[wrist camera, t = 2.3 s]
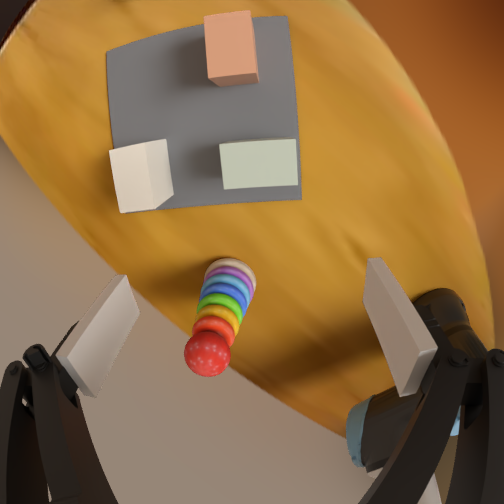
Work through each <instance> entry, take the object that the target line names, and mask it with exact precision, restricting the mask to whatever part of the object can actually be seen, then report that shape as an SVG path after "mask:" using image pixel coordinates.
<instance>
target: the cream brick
mask: <svg viewBox="0 0 504 504" xmlns="http://www.w3.org/2000/svg"><path fill="white" fill-rule="evenodd" d="M109 154H110V161H111V167H112V173H113V179H114V185H115V190H116V195H117V200H118V205H119V210H120V213H125V212H133V211H142V210H151V209H156V208H157V207H158V206H160V205H161V204H162V203H163V202H165V201H166V200H167V199H169V198H170V197H171V196H173V195H174V192H173V185H172V178H171V172H170V164H169V157H168V149H167V141H166V139H161V140H155V141H150V142H144V143H139V144H135V145H130V146H126V147H121V148H117V149H113V150H109Z"/></svg>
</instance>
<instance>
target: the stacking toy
mask: <svg viewBox="0 0 504 504" xmlns="http://www.w3.org/2000/svg"><path fill="white" fill-rule="evenodd" d="M255 288H256V278H255V275H254V273H253V271H252V270H251V268H250V267H249V266H248V265H246V264H245V263H244V262H242V261H240V260H237V259H233V258H223V259H219V260H217V261H215V262H213V263H212V264H211V265H210V266H209V267H208V268H207V270H206V272H205V276H204V282H203V286H202V288H201V296H200V299H199V304H198V307H197V315H196V319H195V324H194V326H193V330H192V334H193V336H192V337H191V338H190V339H189V341H188V342H187V344H186V346H185V350H184V357H185V361H186V363H187V365H188V367H189V368H190V369H191V370H192V371H193V372H194V373H196V374H198V375H201V376H205V377H211V376H216V375H218V374H220V373H222V372H223V371H224V370H225V368H226V367H227V366H228V364H229V362H230V357H231V353H230V348H229V347H231V345H232V344H233V342H234V340H235V336H236V335H237V333H238V331H239V325H240V324H241V322H242V318H243V317H244V315H245V313H246V310H247V307H248V306H249V303H250V302H251V300H252V298H253V294H254V291H255Z"/></svg>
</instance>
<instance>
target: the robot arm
mask: <svg viewBox="0 0 504 504" xmlns="http://www.w3.org/2000/svg"><path fill="white" fill-rule="evenodd" d="M363 304H364V306H365V308H366V311H367V313H368V315H369V318H370V320H371V323H372V325H373V327H374V330H375V332H376V335H377V337H378V340H379V342H380V345H381V347H382V350H383V352H384V355H385V358H386V360H387V363H388V365H389V368H390V371H391V374H392V376H393V379H394V382H395V386H393V387H391V388H389V389H387V390H385V391H383V392H381V393H379V394H377V395H372V396H371V397H370V398H368V399H366V400H364V401H362V402H360V403H358V404H356V405H355V406H354V407H353V408H352V409H351V410H350V412H349V414H348V418H347V423H346V438H347V445H348V450H349V454H350V455H351V457H352V461H353V463H354V465H356V466H357V467H366V471H367V475H369V476H371V477H374V478H376V479H375V481H374V482H373V484H372V485H371V487H370V488H369V490H368V491H367V493H366V494H365V495H364V496H363V498H362V499H361V501H360V502H359V503H358V504H442V503H441V499H440V494H439V490H438V486H437V482H436V478H435V475H434V471H435V469H436V467H437V465H438V463H439V461H440V458H441V456H442V454H443V451H444V449H445V447H446V444H447V442H448V439H449V437H450V436H454V435H458V442H457V449H456V457H455V462H454V468H453V473H452V478H451V483H450V487H449V492H448V496H447V500H446V503H445V504H504V351H502V350H500V349H491V350H490V351H487V349H486V348H485V346H484V345H483V343H482V342H481V340H480V339H479V338H478V336H477V335H476V333H475V332H474V331H473V329H472V328H471V326H470V323H469V319H468V316H467V313H466V309H465V305H464V303H463V301H462V300H461V298H460V297H459V296H458V295H457V294H456V293H455V292H454V291H453V290H450V289H437V290H433V291H431V292H429V293H427V294H425V295H423V296H421V297H420V298H419V299H417V300H416V301H415V302H414V303H413V304H412V303H411V301H410V300H409V298H408V297H407V295H406V294H405V292H404V290H403V289H402V287H401V286H400V284H399V283H398V281H397V280H396V278H395V277H394V275H393V274H392V273H391V271H390V270H389V268H388V267H387V265H386V264H385V262H384V261H383V260H382V258H381V257H380V258H368V260H367V270H366V279H365V287H364V295H363ZM139 315H140V311H139V308H138V306H137V303H136V301H135V298H134V296H133V293H132V290H131V287H130V284H129V282H128V279H127V276H126V275H115V276H114V277H113V279H112V280H111V281H110V282H109V284H108V285H107V286H106V287H105V289H104V290H103V291H102V292H101V294H100V295H99V296H98V297H97V299H96V300H95V301H94V302H93V304H92V305H91V306H90V308H89V309H88V310H87V312H86V313H85V314H84V316H83V317H82V318H81V320H80V321H78V322H77V323H76V324H74V325H73V326H72V327H71V328H70V330H69V331H68V332H67V335H65V336H64V338H63V340H62V341H61V342H60V343H59V345H58V346H57V348H56V349H55V351H54V352H53V354H52V355H51V356H49V355H48V353H47V352H46V350H45V348H44V347H43V346H42V345H41V344H35V345H33V346H31V347H29V348H28V349H27V350H26V351H25V353H24V354H23V359H24V361H25V362H26V364H27V365H28V366H29V368H25V366H24V365H23V364H22V362H21V361H14V362H12V363H10V364H9V365H8V367H7V369H6V370H5V373H4V377H3V380H2V384H1V387H0V504H118V502H117V500H116V498H115V496H114V494H113V492H112V490H111V488H110V485H109V483H108V481H107V479H106V476H105V474H104V472H103V469H102V467H101V464H100V462H99V459H98V456H97V454H96V451H95V448H94V445H93V443H92V440H91V437H90V434H89V431H88V428H87V424H86V421H85V418H84V414H83V410H82V407H81V403H80V399H79V396H78V394H77V393H76V391H77V389H78V388H79V389H80V390H81V392H82V393H83V394H84V395H86V396H90V397H94V398H96V397H97V395H98V393H99V391H100V389H101V386H102V385H103V383H104V381H105V379H106V377H107V374H108V373H109V371H110V369H111V367H112V365H113V363H114V361H115V359H116V357H117V355H118V353H119V351H120V349H121V347H122V345H123V344H124V342H125V340H126V338H127V336H128V334H129V333H130V331H131V329H132V327H133V325H134V323H135V322H136V320H137V318H138V316H139ZM22 399H24V400H25V401H26V402H27V404H26V406H24V404H23V403H22ZM47 483H48V485H47ZM48 487H49V490H50V494H51V498H52V500H51V502H49V498H48Z"/></svg>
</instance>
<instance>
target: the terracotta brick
mask: <svg viewBox="0 0 504 504" xmlns="http://www.w3.org/2000/svg"><path fill="white" fill-rule="evenodd" d="M204 30H205V44H206V57H207V69H208V79H210V80H211V81H213V82H214V83H215V84H217V85H218V86H219V87H224V86H232V85H241V84H253V83H259V76H258V66H257V55H256V45H255V35H254V27H253V23H252V18H251V13H250V10H246V11H237V12H229V13H221V14H215V15H209V16H204Z"/></svg>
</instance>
